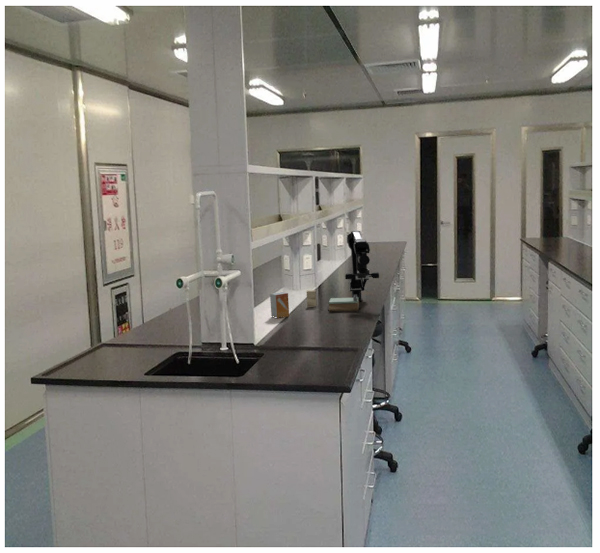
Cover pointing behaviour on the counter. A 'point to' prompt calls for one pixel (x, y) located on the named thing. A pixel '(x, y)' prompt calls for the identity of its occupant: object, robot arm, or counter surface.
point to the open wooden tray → (344, 307)
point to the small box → (279, 304)
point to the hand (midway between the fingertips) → (362, 290)
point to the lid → (344, 300)
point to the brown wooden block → (311, 298)
